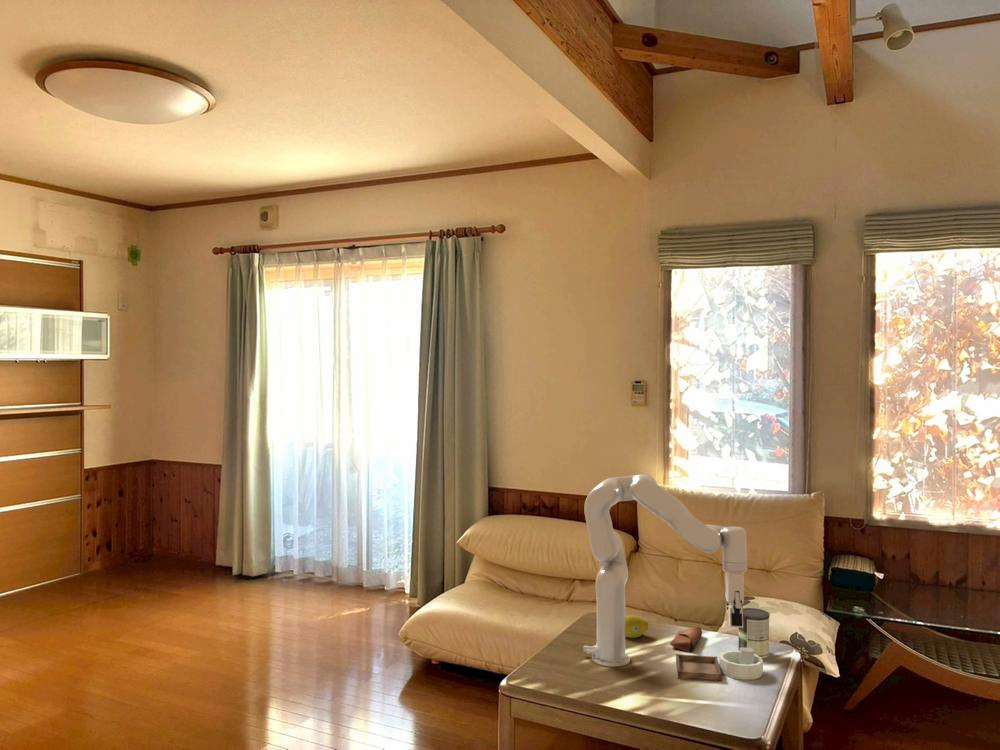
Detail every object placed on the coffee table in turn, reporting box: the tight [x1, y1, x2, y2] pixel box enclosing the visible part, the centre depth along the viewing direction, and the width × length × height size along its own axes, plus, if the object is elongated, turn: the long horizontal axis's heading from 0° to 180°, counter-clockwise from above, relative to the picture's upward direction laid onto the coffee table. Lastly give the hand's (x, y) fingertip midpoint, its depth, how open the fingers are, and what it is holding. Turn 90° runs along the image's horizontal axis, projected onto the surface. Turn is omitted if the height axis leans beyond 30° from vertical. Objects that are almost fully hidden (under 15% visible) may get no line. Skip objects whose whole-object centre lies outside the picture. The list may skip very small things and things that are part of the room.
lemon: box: [625, 614, 649, 639], centre depth 275 cm, size 11×8×8 cm
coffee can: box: [737, 607, 770, 659], centre depth 259 cm, size 10×10×14 cm
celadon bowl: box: [718, 650, 764, 681], centre depth 242 cm, size 13×13×4 cm
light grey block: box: [740, 647, 754, 665], centre depth 244 cm, size 4×4×6 cm
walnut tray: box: [675, 653, 723, 683], centre depth 243 cm, size 13×16×2 cm
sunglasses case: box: [669, 626, 703, 653], centre depth 269 cm, size 18×7×7 cm
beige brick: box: [728, 604, 743, 628], centre depth 241 cm, size 4×4×6 cm
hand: (736, 623), depth 241 cm, fingers closed on beige brick, 3 cm apart
